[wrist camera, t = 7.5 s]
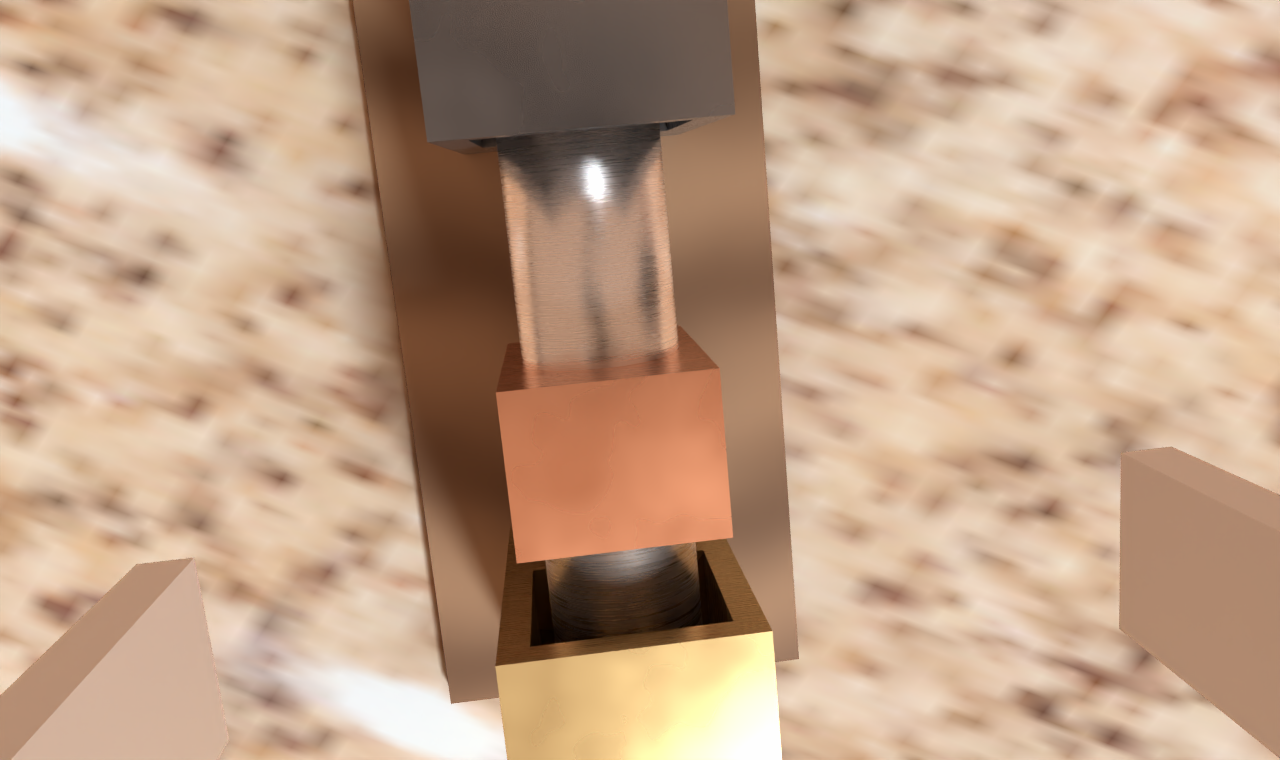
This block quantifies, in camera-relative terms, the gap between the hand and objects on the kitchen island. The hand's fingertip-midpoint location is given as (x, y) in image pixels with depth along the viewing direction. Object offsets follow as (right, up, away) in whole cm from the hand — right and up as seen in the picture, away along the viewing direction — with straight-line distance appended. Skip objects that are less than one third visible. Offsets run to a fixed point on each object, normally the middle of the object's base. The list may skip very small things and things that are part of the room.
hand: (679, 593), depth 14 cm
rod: (-2, +4, +15) cm, 16 cm away
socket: (-1, -4, +21) cm, 21 cm away
